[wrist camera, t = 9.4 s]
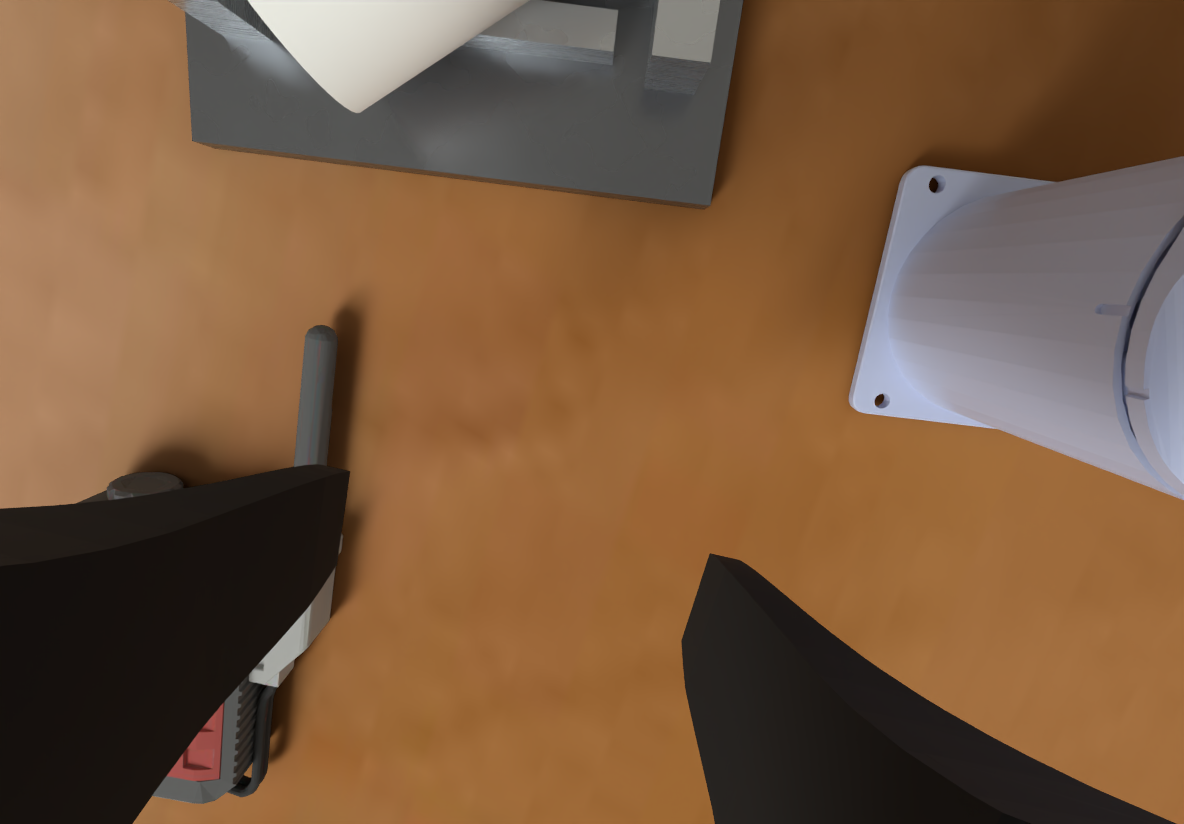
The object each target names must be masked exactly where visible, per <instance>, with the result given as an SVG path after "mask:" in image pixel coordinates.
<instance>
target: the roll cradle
mask: <svg viewBox="0 0 1184 824" xmlns="http://www.w3.org/2000/svg"><path fill="white" fill-rule="evenodd" d="M168 1H169V2H171V3H173V4H174V5H176V6H177V7H179V8H180V9H182V10H183V11H185V16H186V34H187V53H188V71H189V90H190V108H191V127H192V141H194V142H197V143H200V144H203V145H206V146H209V147H212V148H215V149H223V150H231V151H239V152H247V153H255V154H263V155H271V156H279V157H287V158H295V159H303V160H311V161H319V162H327V163H335V164H343V165H351V166H359V167H367V168H375V169H384V170H392V171H400V172H408V173H416V174H424V175H432V176H440V177H448V178H456V179H464V180H472V181H480V182H488V183H496V184H504V185H512V186H520V187H528V188H536V189H544V190H552V191H560V192H568V193H576V194H584V195H592V196H600V197H608V198H616V199H624V200H632V201H640V202H648V203H656V204H664V205H672V206H680V207H688V208H696V209H706V208H707V207H709V206H710V204H711V197H712V191H713V185H714V179H715V173H716V166H717V160H718V154H719V148H720V142H721V135H722V129H723V123H724V117H725V111H726V104H727V98H728V92H729V86H730V80H731V73H732V67H733V61H734V55H735V49H736V42H737V36H738V30H739V24H740V18H741V12H742V5H743V0H529V1H528V2H526V3H525V4H523V5H522V6H520V7H519V8H517V9H516V10H514V11H513V12H511V13H510V14H508V15H507V16H505V17H504V18H502V19H501V20H499V21H498V22H496V23H495V24H493V25H492V26H490V27H489V28H487V29H485V30H484V31H482V32H481V33H479V34H478V35H476V36H475V37H473V38H472V39H470V40H469V41H467V42H466V43H464V44H463V45H461V46H460V47H458V48H457V49H455V50H454V51H452V52H451V53H449V54H448V55H446V56H445V57H443V58H442V59H440V60H439V61H437V62H436V63H434V64H433V65H431V66H430V67H428V68H427V69H425V70H424V71H422V72H421V73H419V74H418V75H416V76H415V77H413V78H412V79H410V80H409V81H407V82H406V83H404V84H403V85H401V86H400V87H398V88H397V89H395V90H394V91H392V92H391V93H389V94H388V95H386V96H384V97H383V98H381V99H380V100H378V101H377V102H375V103H374V104H372V105H371V106H369V107H368V108H366V109H365V110H363V111H362V112H360V113H355V112H352V111H350V110H349V109H347V108H345V107H344V106H343V105H341V104H340V103H339V102H337V101H336V100H335V99H334V98H333V97H332V96H331V95H329V94H328V93H327V92H326V91H325V90H324V89H323V88H322V87H321V86H320V85H319V84H318V83H317V82H316V81H315V80H314V79H313V78H312V77H311V76H310V75H309V74H308V73H307V71H306V70H305V69H304V68H303V67H302V66H301V65H300V64H299V63H298V62H297V60H296V59H295V58H294V57H293V56H292V55H291V54H290V52H289V51H288V50H287V49H286V48H285V47H284V45H283V44H282V43H281V42H280V41H279V40H278V38H277V37H276V36H275V35H274V33H273V32H272V31H271V30H270V28H269V27H268V26H267V25H266V24H265V22H264V21H263V20H262V19H261V17H260V16H259V15H258V13H257V12H256V11H255V10H254V8H253V7H252V6H251V4H250V3H249V2H248V0H168Z"/></svg>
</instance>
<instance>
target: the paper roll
mask: <svg viewBox="0 0 1184 824" xmlns="http://www.w3.org/2000/svg"><path fill="white" fill-rule="evenodd" d="M528 1H529V0H248V2H249V3H250V4H251V6H252V7H253V8H254V10H255V11H256V12H257V13H258V15H259V16H260V17H261V19H262V20H263V21H264V22H265V24H266V25H267V26H268V27H269V28H270V30H271V31H272V32H273V33H274V35H275V36H276V37H277V38H278V40H279V41H280V42H281V43H282V44H283V45H284V47H285V48H286V49H287V50H288V51H289V52H290V54H291V55H292V56H293V57H294V58H295V59H296V60H297V62H298V63H299V64H300V65H301V66H302V67H303V68H304V69H305V70H306V71H307V73H308V74H309V75H310V76H311V77H312V78H313V79H314V80H315V81H316V82H317V83H318V84H319V85H320V86H321V87H322V88H323V89H324V90H325V91H326V92H327V93H328V94H329V95H331V96H332V97H333V98H334V99H335V100H336V101H337V102H339V103H340V104H341V105H343V106H344V107H345V108H347V109H349V110H350V111H352V112H355V113H360V112H362V111H363V110H365V109H366V108H368V107H369V106H371V105H372V104H374V103H375V102H377V101H378V100H380V99H381V98H383V97H384V96H386V95H388V94H389V93H391V92H392V91H394V90H395V89H397V88H398V87H400V86H401V85H403V84H404V83H406V82H407V81H409V80H410V79H412V78H413V77H415V76H416V75H418V74H419V73H421V72H422V71H424V70H425V69H427V68H428V67H430V66H431V65H433V64H434V63H436V62H437V61H439V60H440V59H442V58H443V57H445V56H446V55H448V54H449V53H451V52H452V51H454V50H455V49H457V48H458V47H460V46H461V45H463V44H464V43H466V42H467V41H469V40H470V39H472V38H473V37H475V36H476V35H478V34H479V33H481V32H482V31H484V30H485V29H487V28H489V27H490V26H492V25H493V24H495V23H496V22H498V21H499V20H501V19H502V18H504V17H505V16H507V15H508V14H510V13H511V12H513V11H514V10H516V9H517V8H519V7H520V6H522V5H523V4H525V3H526V2H528Z"/></svg>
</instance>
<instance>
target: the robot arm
mask: <svg viewBox="0 0 1184 824" xmlns="http://www.w3.org/2000/svg"><path fill="white" fill-rule="evenodd" d="M931 178H935V179H936V180H937V182H938V189H937V191H936V192H935V193H933V192H931V191H930V189H929V182H930V180H931ZM879 394H883V395H884V400H883V402H882V403H881V404H880V405H878V406H876V405H875V398H876V396H878V395H879ZM849 403H850V405H851V406H852V407H853V408H854V409H855V410H857V411H859V412H862V413H868V414H876V415H885V416H893V417H902V418H910V419H918V420H927V421H935V422H943V423H952V424H960V425H969V426H977V427H985V428H994V429H999V430H1002V431H1004V432H1007V433H1010V434H1012V435H1015V436H1017V437H1020V438H1023V439H1025V440H1028V441H1031V442H1033V443H1036V444H1038V445H1041V446H1044V447H1046V448H1049V449H1051V450H1054V451H1057V452H1059V453H1062V454H1065V455H1067V456H1070V457H1072V458H1075V459H1078V460H1080V461H1083V462H1085V463H1088V464H1091V465H1093V466H1096V467H1099V468H1101V469H1104V470H1106V471H1109V472H1112V473H1114V474H1117V475H1120V476H1122V477H1125V478H1127V479H1130V480H1133V481H1135V482H1138V483H1140V484H1143V485H1146V486H1148V487H1151V488H1154V489H1156V490H1159V491H1161V492H1164V493H1167V494H1169V495H1172V496H1174V497H1177V498H1180V499H1182V500H1184V156H1182V157H1177V158H1172V159H1167V160H1162V161H1157V162H1152V163H1148V164H1143V165H1138V166H1133V167H1128V168H1123V169H1119V170H1114V171H1109V172H1104V173H1099V174H1094V175H1090V176H1085V177H1080V178H1075V179H1070V180H1065V181H1061V182H1051V181H1044V180H1036V179H1028V178H1020V177H1012V176H1004V175H996V174H988V173H980V172H973V171H965V170H957V169H949V168H941V167H933V166H917V167H914V168H912V169H910V170H908V171H907V172H906V173H905V174H904V175H903V176H902V178H901V181H900V184H899V188H898V192H897V196H896V201H895V205H894V209H893V213H892V217H891V222H890V226H889V230H888V234H887V238H886V243H885V247H884V251H883V255H882V259H881V263H880V268H879V272H878V276H877V280H876V284H875V289H874V293H873V297H872V301H871V305H870V310H869V314H868V318H867V322H866V326H865V331H864V335H863V339H862V343H861V347H860V352H859V356H858V360H857V364H856V368H855V373H854V377H853V381H852V385H851V389H850V393H849ZM349 476H350V471H347V470H342V469H338V468H333V467H329V466H325V465H320V464H313V465H303V466H296V467H290V468H285V469H280V470H275V471H270V472H265V473H260V474H255V475H251V476H246V477H241V478H236V479H231V480H227V481H222V482H217V483H212V484H206V485H200V486H195V487H189V488H184V489H178V490H172V491H167V492H161V493H156V494H150V495H143V496H136V497H129V498H121V499H114V500H105V501H95V502H86V503H77V504H67V505H56V506H40V507H22V508H5V509H0V824H132V823H133V822H134V821H135V819H136V818H137V816H138V815H139V813H140V812H141V811H142V809H143V808H144V806H145V805H146V804H147V802H148V801H149V799H150V798H151V797H152V795H153V794H154V792H155V791H156V790H157V788H158V787H159V785H160V784H161V783H162V781H163V780H164V779H165V777H166V776H167V775H168V773H169V772H170V771H171V769H172V768H173V767H174V765H175V764H176V763H177V761H178V760H179V758H180V757H181V756H182V754H183V753H184V752H185V750H186V749H187V748H188V746H189V745H190V744H191V742H192V741H193V740H194V738H195V737H196V736H197V734H198V733H199V732H200V730H201V729H202V728H203V727H204V725H205V724H206V723H207V722H208V721H209V719H210V718H211V717H212V716H213V715H214V713H215V712H216V711H217V710H218V709H219V707H220V706H221V705H222V704H223V703H224V702H225V701H226V699H227V698H228V697H229V696H230V695H231V694H232V693H233V692H234V691H235V689H236V688H237V687H238V686H239V685H240V684H241V683H242V682H243V680H244V679H245V678H246V677H247V676H248V675H249V674H250V673H251V672H252V670H253V669H254V668H255V667H256V666H257V665H258V664H259V663H260V662H261V660H262V659H263V658H264V657H265V656H266V655H267V654H268V653H269V652H270V650H271V649H272V648H273V647H274V646H275V645H276V644H277V643H278V642H279V640H280V639H281V638H282V637H283V636H284V635H285V634H286V632H287V631H288V630H289V629H290V628H291V627H292V626H293V625H294V623H295V622H296V621H297V620H298V619H299V618H300V617H301V615H302V614H303V613H304V612H305V611H306V610H307V608H308V607H309V606H310V605H311V603H312V602H313V600H314V599H315V597H316V596H317V594H318V593H319V592H320V590H321V589H322V587H323V586H324V584H325V583H326V581H327V579H328V578H329V576H330V575H331V573H332V572H333V570H334V569H335V567H336V566H337V561H338V554H339V547H340V540H341V532H342V525H343V518H344V511H345V504H346V497H347V490H348V483H349ZM682 655H683V669H684V679H685V689H686V694H687V699H688V703H689V708H690V712H691V717H692V721H693V726H694V731H695V735H696V739H697V744H698V748H699V752H700V757H701V761H702V766H703V770H704V774H705V779H706V783H707V787H708V792H709V796H710V801H711V805H712V810H713V815H714V821H715V824H1176V823H1173V822H1171V821H1169V820H1166V819H1164V818H1162V817H1160V816H1157V815H1155V814H1153V813H1150V812H1148V811H1146V810H1143V809H1141V808H1139V807H1136V806H1134V805H1132V804H1129V803H1127V802H1125V801H1122V800H1120V799H1118V798H1115V797H1113V796H1111V795H1108V794H1106V793H1104V792H1102V791H1099V790H1097V789H1095V788H1093V787H1091V786H1089V785H1086V784H1084V783H1082V782H1080V781H1078V780H1076V779H1074V778H1072V777H1070V776H1068V775H1066V774H1064V773H1062V772H1060V771H1058V770H1056V769H1054V768H1052V767H1049V766H1047V765H1045V764H1043V763H1041V762H1039V761H1037V760H1035V759H1033V758H1031V757H1029V756H1027V755H1025V754H1023V753H1021V752H1019V751H1018V750H1016V749H1014V748H1012V747H1010V746H1008V745H1006V744H1004V743H1002V742H1000V741H998V740H997V739H995V738H993V737H991V736H989V735H987V734H986V733H984V732H982V731H980V730H979V729H977V728H975V727H973V726H972V725H970V724H968V723H966V722H964V721H963V720H961V719H959V718H957V717H956V716H954V715H952V714H950V713H949V712H947V711H945V710H943V709H942V708H940V707H938V706H937V705H935V704H934V703H932V702H930V701H929V700H927V699H925V698H924V697H922V696H920V695H919V694H917V693H916V692H914V691H913V690H911V689H910V688H908V687H907V686H905V685H904V684H902V683H901V682H899V681H898V680H896V679H894V678H893V677H891V676H890V675H888V674H887V673H885V672H884V671H882V670H881V669H879V668H878V667H877V666H875V665H874V664H872V663H871V662H869V661H868V660H867V659H865V658H864V657H862V656H861V655H860V654H858V653H857V652H856V651H854V650H853V649H852V648H850V647H849V646H848V645H846V644H845V643H844V642H843V641H841V640H840V639H839V638H837V637H836V636H835V635H833V634H832V633H831V632H829V631H828V630H827V629H826V628H824V627H823V626H822V625H821V624H819V623H818V622H817V621H816V620H814V619H813V618H812V617H811V616H810V615H808V614H807V613H806V612H805V611H804V610H802V609H801V608H800V607H799V606H797V605H796V604H795V603H794V602H793V601H792V600H790V599H789V598H788V597H787V596H786V595H784V594H783V593H782V592H781V591H780V590H778V589H777V588H776V587H775V586H774V585H772V584H771V583H770V582H769V581H768V580H766V579H765V578H764V577H763V576H761V575H760V574H759V573H758V572H756V571H755V570H754V569H752V568H751V567H750V566H748V565H747V564H745V563H743V562H742V561H740V560H737V559H732V558H728V557H724V556H719V555H715V554H710V555H709V558H708V561H707V564H706V567H705V570H704V573H703V576H702V579H701V582H700V585H699V588H698V592H697V595H696V598H695V601H694V604H693V607H692V610H691V613H690V616H689V619H688V622H687V625H686V629H685V632H684V635H683V638H682Z"/></svg>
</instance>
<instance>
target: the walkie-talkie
mask: <svg viewBox="0 0 1184 824" xmlns="http://www.w3.org/2000/svg"><path fill="white" fill-rule="evenodd" d="M337 345H338V338H337V335H336V333H335V331H334V330H333V329H332V328H330V327H328V326H325V325H318V326H314V327H313V328H311V329H309V330H308V332H307V334H306V335H305V346H304V357H303V369H302V380H301V392H300V403H299V414H298V426H297V437H296V449H295V460H294V467H296V466H303V465H313V464H320V465H325V466H327V458H328V448H329V438H330V428H331V418H332V398H333V387H334V377H335V366H336V356H337ZM178 489H183V482H182V481H181V479H179V478H178V477H176V476H174V475H171V474H168V473H162V472H141V473H132V474H129V475H125V476H121V477H119V478H117V479H115V480H114V481H112V482H110V484H109V486H108V487H107V490H106V491H104V492H102V493H99V494H97V495H95V496H92V497H90V498H88V499H85V500H83V501H81V502H78V503H86V502H95V501H105V500H114V499H121V498H129V497H136V496H143V495H150V494H156V493H161V492H167V491H172V490H178ZM76 504H77V503H76ZM342 540H343V534H342V533H341V540H340V547H339V554H340V552H341V549H342ZM339 554H338V555H339ZM334 576H335V569H334V570H333V572H332V573H331V575H330V576H329V578H328V579H327V581H326V583H325V584H324V586H323V587H322V589H321V590H320V592H319V593H318V594H317V596H316V597H315V599H314V600H313V602H312V603H311V605H310V606H309V607H308V608H307V610H306V611H305V612H304V613H303V614H302V615H301V617H300V618H299V619H298V620H297V621H296V622H295V623H294V625H293V626H292V627H291V628H290V629H289V630H288V631H287V632H286V634H285V635H284V636H283V637H282V638H281V639H280V640H279V642H278V643H277V644H276V645H275V646H274V647H273V648H272V649H271V650H270V652H269V653H268V654H267V655H266V656H265V657H264V658H263V659H262V660H261V662H260V663H259V664H258V665H257V666H256V667H255V668H254V669H253V670H252V672H251V673H250V674H249V675H248V676H247V677H246V678H245V679H244V680H243V682H242V683H241V684H240V685H239V686H238V687H237V688H236V689H235V691H234V692H233V693H232V694H231V695H230V696H229V697H228V698H227V699H226V701H225V702H224V703H223V704H222V705H221V706H220V707H219V709H218V710H217V711H216V712H215V713H214V715H213V716H212V717H211V718H210V719H209V721H208V722H207V723H206V724H205V725H204V727H203V728H202V729H201V730H200V732H199V733H198V734H197V736H196V737H195V738H194V740H193V741H192V742H191V744H190V745H189V746H188V748H187V749H186V750H185V752H184V753H183V754H182V756H181V757H180V758H179V760H178V761H177V763H176V764H175V765H174V767H173V768H172V769H171V771H170V772H169V773H168V775H167V776H166V777H165V779H164V780H163V781H162V783H161V784H160V785H159V787H158V788H157V790H156V791H155V792H154V794H153V795H152V796H156V797H161V798H167V799H172V800H178V801H183V802H189V803H199V804H204V803H207V802H211V801H215V800H217V799H218V798H219V797H221V796H222V795H223V794H225V793H226V792H228V793H231V794H234V795H236V796H239V797H245V796H248V795H250V794H252V793H254V792H255V791H256V790H257V788H258V786H259V784H260V783H261V782H262V781H263V779H264V777H265V775H266V773H267V769H268V757H269V745H270V734H271V722H272V710H273V698H274V694H275V691H276V689H277V688H278V687H279V685H280V684H281V683H282V682H283V680H284V679H285V678H286V676H287V675H288V674H289V673H290V671H291V670H292V669H293V668H294V660H295V658H297V657H298V656H299V655H300V654H301V653H303V652H304V651H305V650H306V649H307V648H308V647H309V646H310V644H311V643H312V642H313V640H314V639H315V638H316V637H317V635H318V634H319V633H320V632H321V630H322V629H323V628H324V626H325V625H326V624H327V623H328V621H329V620H330V612H331V603H332V594H333V585H334ZM252 762H253V765H252V778H249V777H247V776H244V773H245V772H246V771H247V769H248V768H249V766H250V765H251V764H252Z"/></svg>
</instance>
